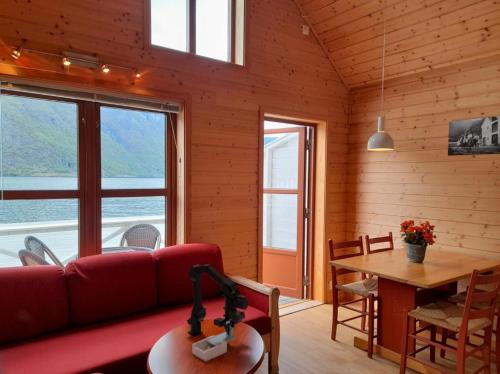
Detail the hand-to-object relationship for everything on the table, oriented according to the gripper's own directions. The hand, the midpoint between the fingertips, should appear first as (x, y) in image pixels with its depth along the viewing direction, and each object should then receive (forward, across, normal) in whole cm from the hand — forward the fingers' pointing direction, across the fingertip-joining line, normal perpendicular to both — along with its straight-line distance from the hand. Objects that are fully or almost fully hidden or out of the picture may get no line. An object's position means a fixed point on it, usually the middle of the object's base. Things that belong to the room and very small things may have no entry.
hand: (229, 333), depth 192 cm
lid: (+1, -6, 0) cm, 6 cm away
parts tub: (+6, -14, 0) cm, 15 cm away
